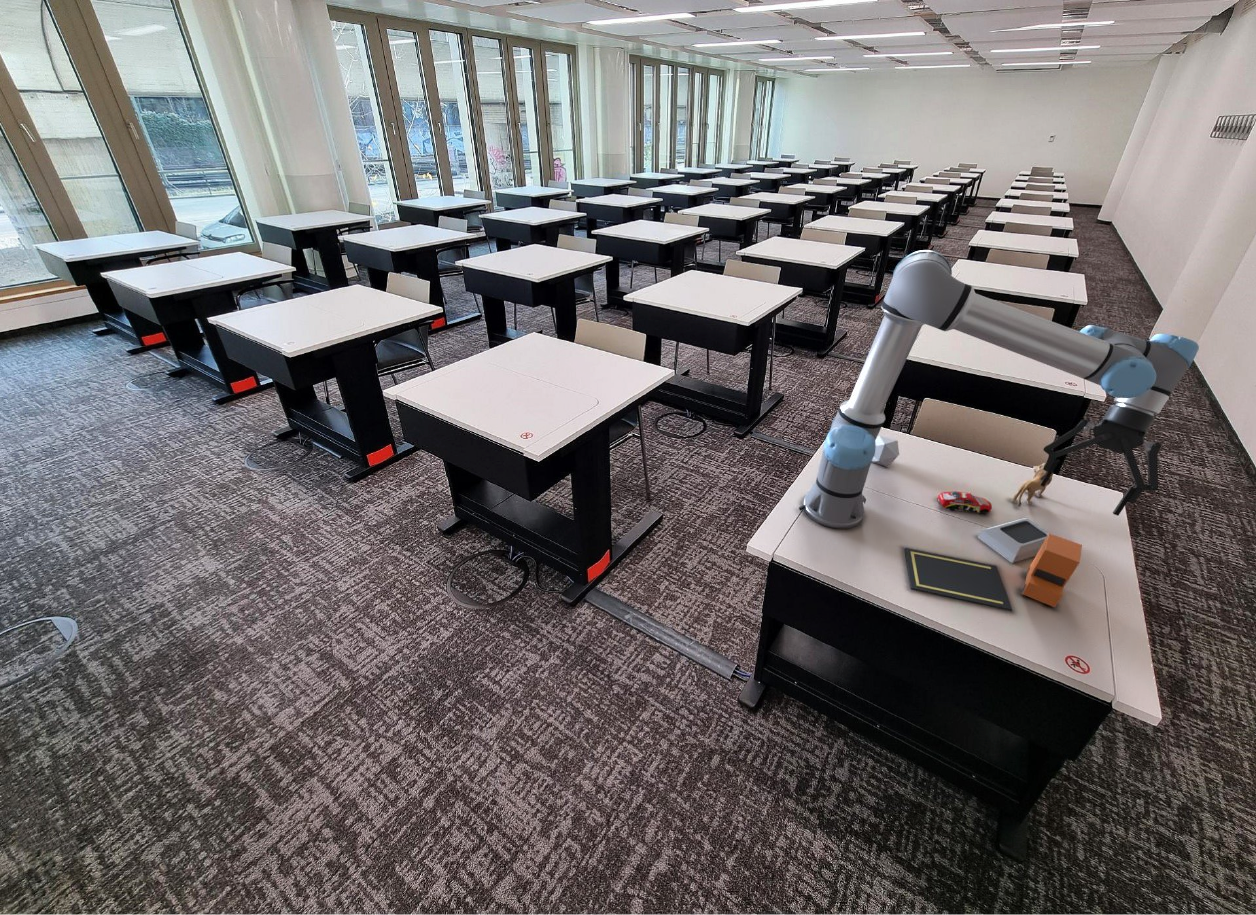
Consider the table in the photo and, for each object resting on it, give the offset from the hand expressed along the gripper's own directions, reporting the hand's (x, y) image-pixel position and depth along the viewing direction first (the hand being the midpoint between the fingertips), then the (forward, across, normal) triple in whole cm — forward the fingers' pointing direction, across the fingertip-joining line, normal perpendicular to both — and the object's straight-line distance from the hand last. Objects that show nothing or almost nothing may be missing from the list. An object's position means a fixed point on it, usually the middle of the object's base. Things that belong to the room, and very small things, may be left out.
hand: (1077, 499), depth 117 cm
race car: (+14, +19, -17) cm, 29 cm away
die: (+13, +44, -24) cm, 52 cm away
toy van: (+22, -3, +2) cm, 22 cm away
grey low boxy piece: (+16, +5, -11) cm, 20 cm away
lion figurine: (+6, +8, -33) cm, 35 cm away
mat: (+26, +12, +10) cm, 30 cm away
